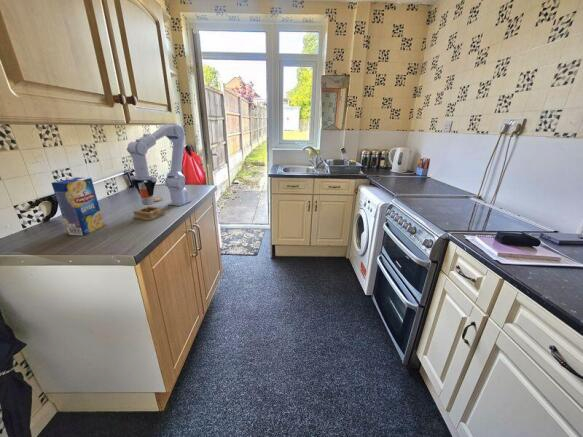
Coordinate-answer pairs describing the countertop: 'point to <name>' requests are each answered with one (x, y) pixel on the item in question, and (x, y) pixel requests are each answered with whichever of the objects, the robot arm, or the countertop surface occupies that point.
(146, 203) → the can
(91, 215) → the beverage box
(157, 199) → the coaster
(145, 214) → the holder
